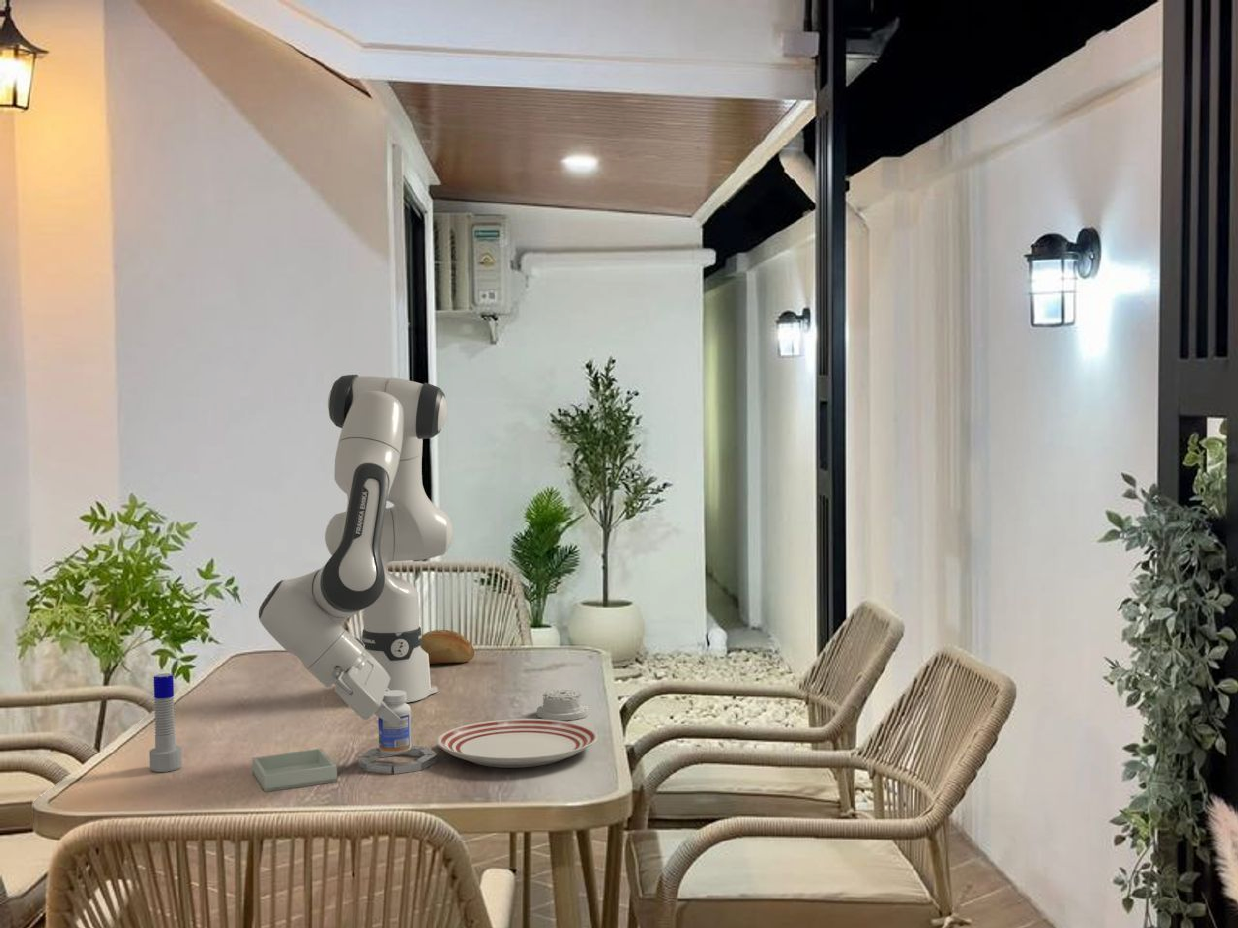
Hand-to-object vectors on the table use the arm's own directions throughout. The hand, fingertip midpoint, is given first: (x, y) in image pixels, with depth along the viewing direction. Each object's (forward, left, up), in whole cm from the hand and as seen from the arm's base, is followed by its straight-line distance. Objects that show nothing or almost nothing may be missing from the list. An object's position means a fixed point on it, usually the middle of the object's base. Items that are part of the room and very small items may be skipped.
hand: (399, 717), depth 202 cm
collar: (0, -1, -7) cm, 8 cm away
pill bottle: (0, -1, -6) cm, 6 cm away
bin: (0, -18, -7) cm, 19 cm away
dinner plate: (+4, +19, -8) cm, 21 cm away
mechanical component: (-16, +37, -8) cm, 41 cm away
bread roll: (-73, +31, -8) cm, 79 cm away
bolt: (-15, -36, -8) cm, 39 cm away
